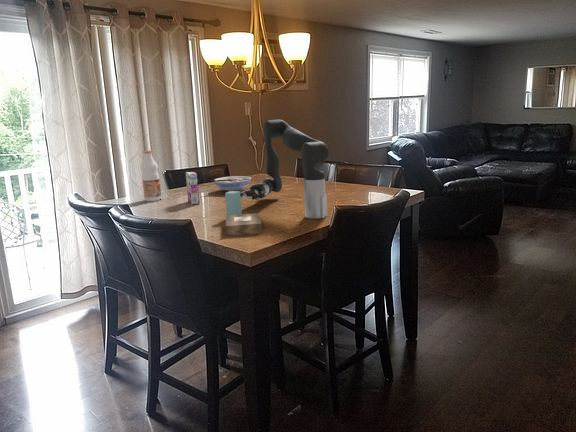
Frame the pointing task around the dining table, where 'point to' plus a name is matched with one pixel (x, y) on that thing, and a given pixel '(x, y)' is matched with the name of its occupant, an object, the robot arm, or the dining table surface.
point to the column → (233, 203)
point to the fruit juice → (150, 178)
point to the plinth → (243, 224)
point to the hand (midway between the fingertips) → (244, 197)
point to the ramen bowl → (232, 182)
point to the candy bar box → (192, 188)
